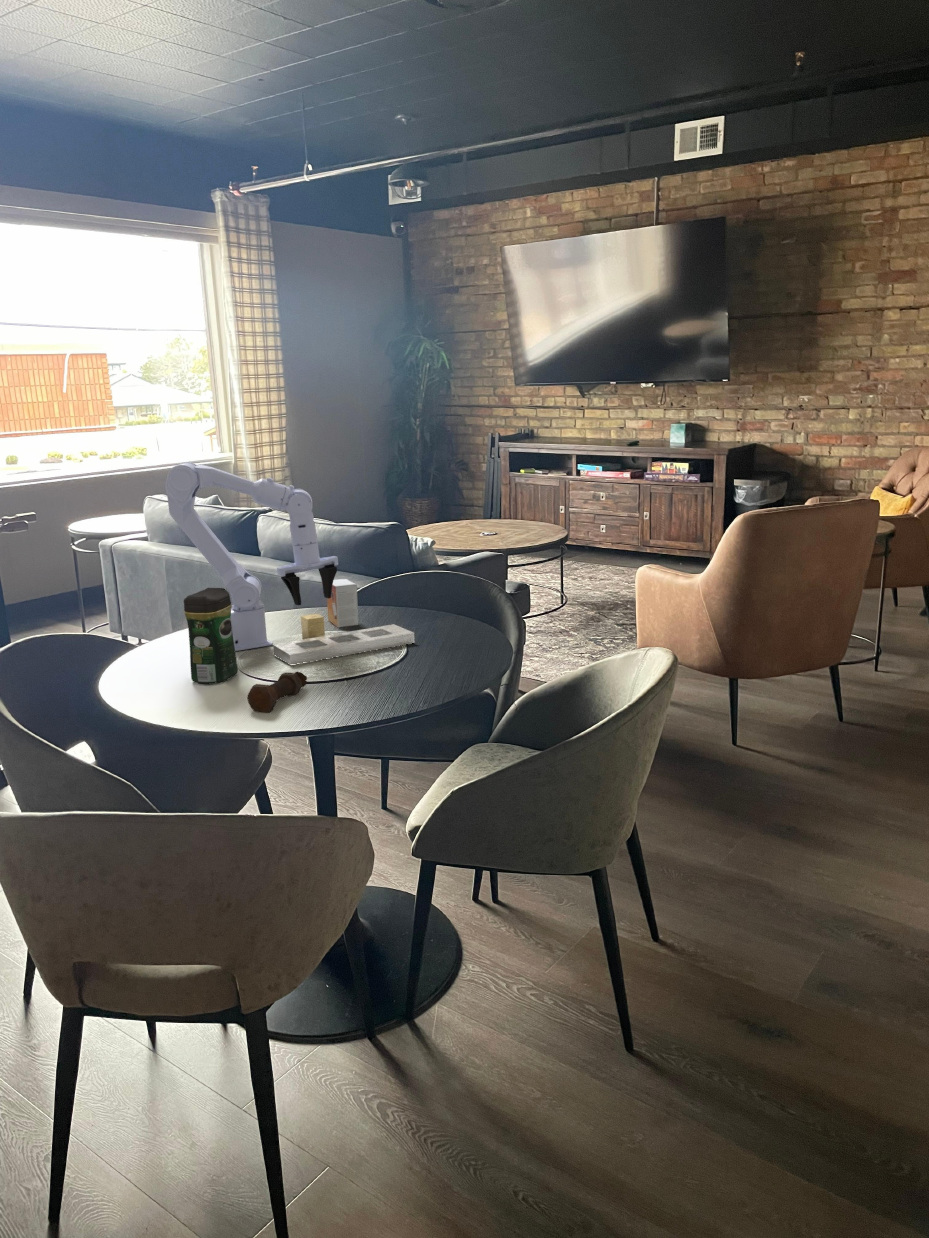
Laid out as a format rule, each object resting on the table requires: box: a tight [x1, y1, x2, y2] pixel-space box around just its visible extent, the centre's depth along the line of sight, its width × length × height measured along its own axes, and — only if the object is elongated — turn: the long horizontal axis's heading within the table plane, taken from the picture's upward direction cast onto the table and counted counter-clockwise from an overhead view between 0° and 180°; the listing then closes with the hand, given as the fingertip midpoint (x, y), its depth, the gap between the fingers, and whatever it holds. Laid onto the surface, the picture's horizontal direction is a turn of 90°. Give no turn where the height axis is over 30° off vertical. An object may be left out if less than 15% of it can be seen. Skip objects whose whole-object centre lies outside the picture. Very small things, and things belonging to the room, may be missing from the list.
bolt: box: [246, 671, 308, 714], centre depth 172 cm, size 6×5×15 cm
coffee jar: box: [183, 587, 239, 686], centre depth 184 cm, size 10×8×19 cm
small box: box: [326, 578, 359, 628], centre depth 229 cm, size 8×6×10 cm
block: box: [300, 613, 326, 640], centre depth 213 cm, size 4×4×6 cm
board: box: [272, 623, 415, 664], centre depth 205 cm, size 30×10×2 cm, turn 122°
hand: (313, 601), depth 211 cm, fingers open, 7 cm apart
